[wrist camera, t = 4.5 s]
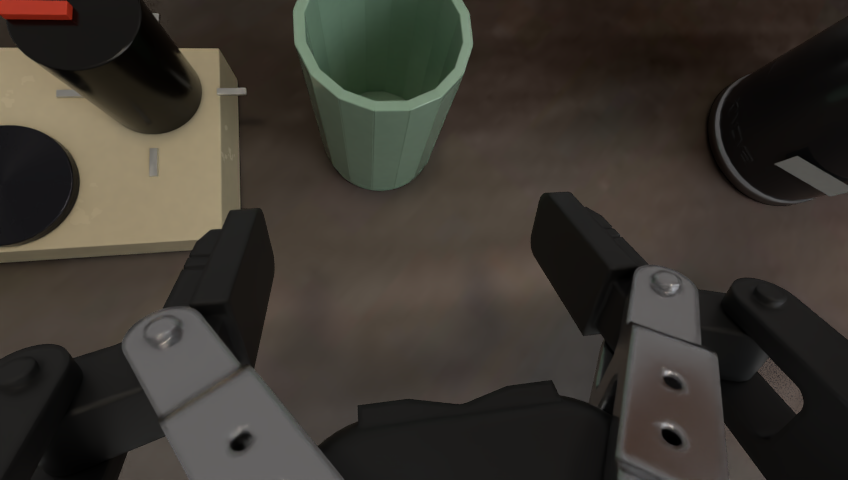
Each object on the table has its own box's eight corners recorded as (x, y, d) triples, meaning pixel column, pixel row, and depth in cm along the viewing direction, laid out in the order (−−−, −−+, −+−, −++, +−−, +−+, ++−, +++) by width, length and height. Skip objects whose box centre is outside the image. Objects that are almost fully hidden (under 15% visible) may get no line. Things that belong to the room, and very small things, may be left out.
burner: (82, 127, 19) (75, 122, 18) (78, 243, 18) (70, 241, 18) (-54, 130, 18) (-66, 125, 18) (-65, 251, 17) (-78, 250, 17)
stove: (260, 52, 24) (243, 14, 21) (266, 245, 22) (249, 235, 19) (8, 51, 22) (-52, 10, 19) (-7, 263, 20) (-75, 256, 17)
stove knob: (202, 52, 20) (137, -46, 15) (203, 133, 20) (135, 64, 14) (107, 52, 20) (0, -50, 14) (105, 136, 19) (-9, 65, 13)
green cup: (426, 90, 25) (462, -48, 15) (435, 188, 24) (481, 109, 14) (321, 91, 24) (289, -55, 14) (327, 193, 23) (297, 112, 13)
